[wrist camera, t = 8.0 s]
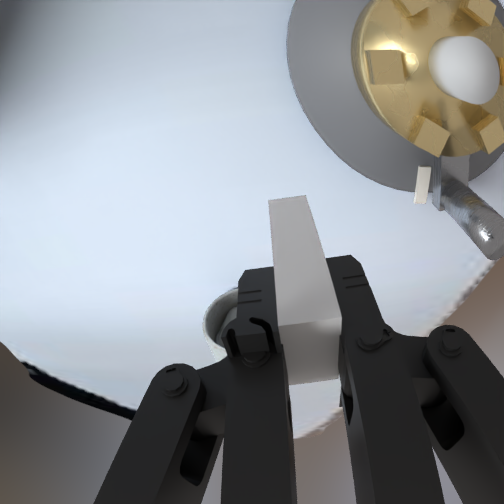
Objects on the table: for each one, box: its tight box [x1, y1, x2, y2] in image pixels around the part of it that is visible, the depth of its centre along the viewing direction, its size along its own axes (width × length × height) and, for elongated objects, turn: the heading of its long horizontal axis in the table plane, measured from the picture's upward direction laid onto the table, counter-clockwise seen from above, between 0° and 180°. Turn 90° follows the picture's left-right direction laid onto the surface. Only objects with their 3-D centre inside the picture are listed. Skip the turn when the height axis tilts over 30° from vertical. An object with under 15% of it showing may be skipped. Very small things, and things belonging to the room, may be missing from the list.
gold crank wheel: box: [351, 0, 504, 260], centre depth 14 cm, size 16×12×9 cm
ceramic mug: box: [203, 288, 238, 362], centre depth 28 cm, size 11×8×8 cm
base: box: [287, 0, 504, 204], centre depth 15 cm, size 20×20×7 cm
